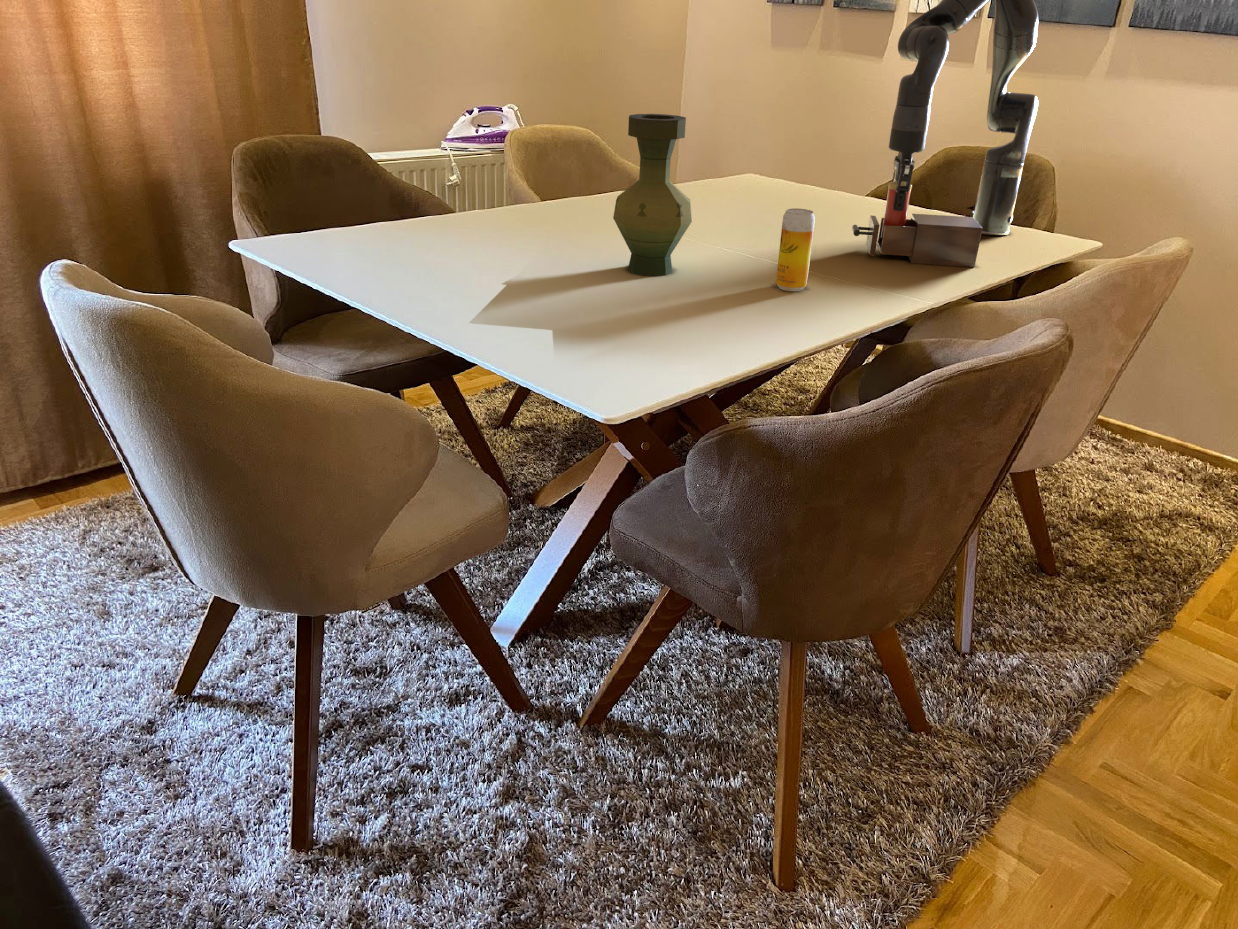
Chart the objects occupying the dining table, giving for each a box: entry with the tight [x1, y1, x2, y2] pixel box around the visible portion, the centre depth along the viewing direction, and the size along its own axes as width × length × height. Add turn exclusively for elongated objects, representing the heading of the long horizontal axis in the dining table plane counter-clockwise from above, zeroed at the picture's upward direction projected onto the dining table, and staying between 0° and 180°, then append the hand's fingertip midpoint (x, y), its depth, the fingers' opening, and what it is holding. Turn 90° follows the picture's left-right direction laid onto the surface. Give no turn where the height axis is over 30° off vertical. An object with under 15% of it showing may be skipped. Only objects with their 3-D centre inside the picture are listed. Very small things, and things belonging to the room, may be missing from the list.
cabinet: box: [907, 213, 983, 268], centre depth 207 cm, size 14×12×9 cm
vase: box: [612, 113, 693, 277], centre depth 186 cm, size 16×16×30 cm
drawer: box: [851, 215, 917, 257], centre depth 209 cm, size 16×10×7 cm, turn 81°
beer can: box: [775, 207, 816, 292], centre depth 180 cm, size 6×6×15 cm
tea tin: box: [881, 181, 913, 239], centre depth 206 cm, size 5×5×12 cm
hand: (896, 207), depth 206 cm, fingers closed on tea tin, 4 cm apart
